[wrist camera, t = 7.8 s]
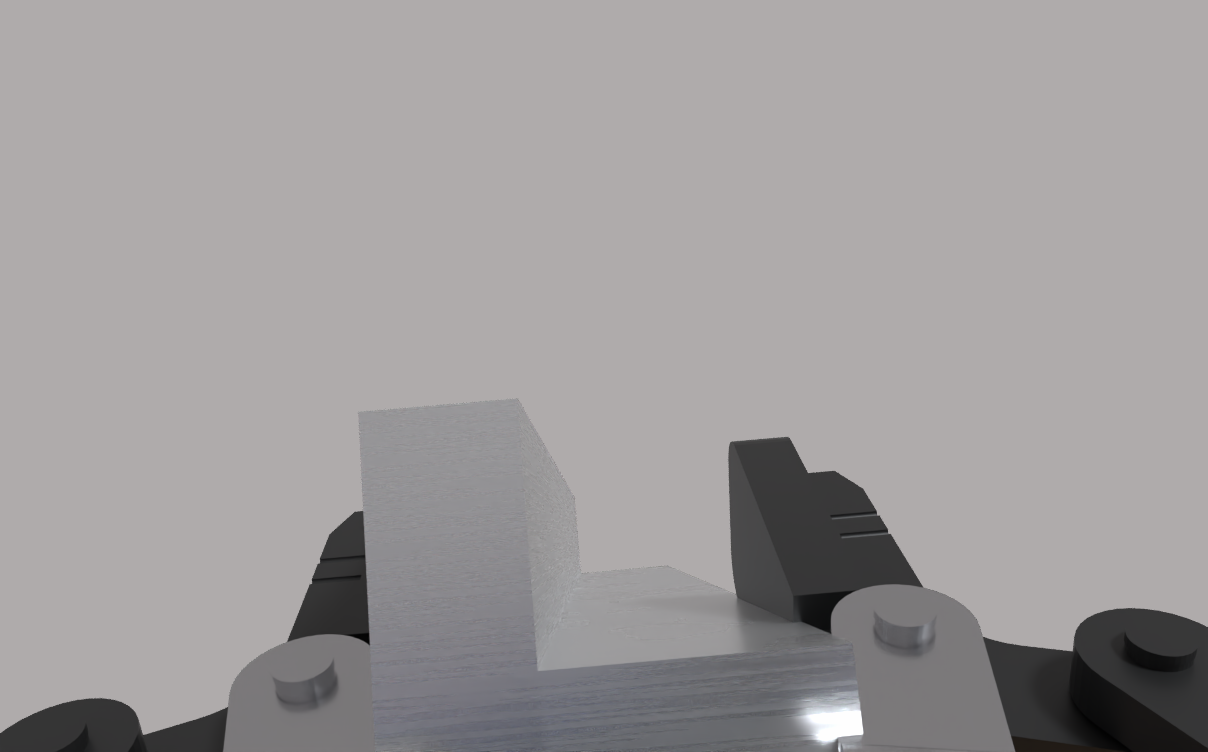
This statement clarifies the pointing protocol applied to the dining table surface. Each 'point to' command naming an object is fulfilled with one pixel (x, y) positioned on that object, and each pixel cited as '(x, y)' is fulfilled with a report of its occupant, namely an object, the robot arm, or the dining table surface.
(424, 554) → the bracket
